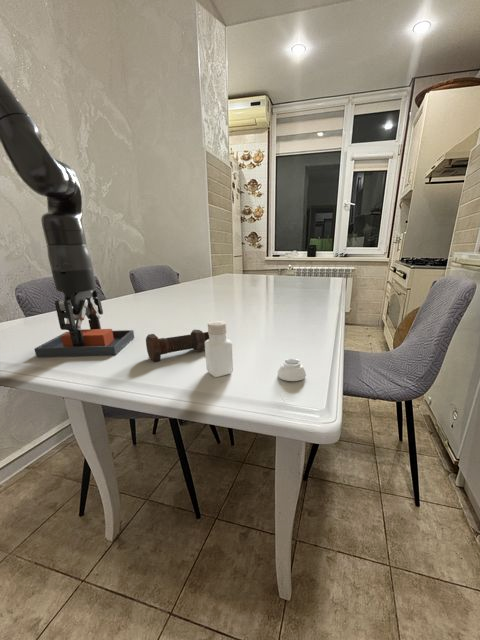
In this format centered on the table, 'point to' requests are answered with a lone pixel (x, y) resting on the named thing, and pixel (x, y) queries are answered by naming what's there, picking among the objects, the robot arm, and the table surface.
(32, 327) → the table surface
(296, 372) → the lidless jar
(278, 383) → the table surface
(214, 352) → the white square bottle
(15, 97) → the robot arm
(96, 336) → the pad
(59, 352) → the tray
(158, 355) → the bolt
